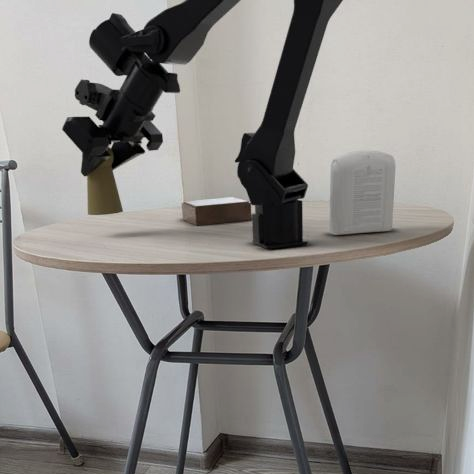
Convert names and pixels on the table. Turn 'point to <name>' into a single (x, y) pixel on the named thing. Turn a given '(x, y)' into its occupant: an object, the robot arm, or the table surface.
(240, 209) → the block
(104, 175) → the cork
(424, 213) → the table surface
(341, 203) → the white upright block
